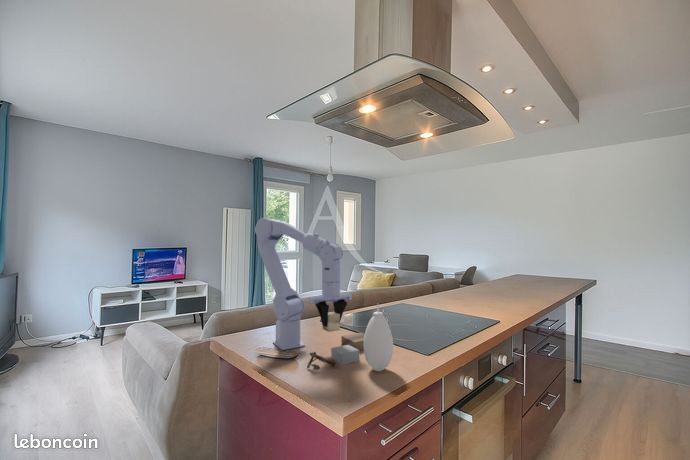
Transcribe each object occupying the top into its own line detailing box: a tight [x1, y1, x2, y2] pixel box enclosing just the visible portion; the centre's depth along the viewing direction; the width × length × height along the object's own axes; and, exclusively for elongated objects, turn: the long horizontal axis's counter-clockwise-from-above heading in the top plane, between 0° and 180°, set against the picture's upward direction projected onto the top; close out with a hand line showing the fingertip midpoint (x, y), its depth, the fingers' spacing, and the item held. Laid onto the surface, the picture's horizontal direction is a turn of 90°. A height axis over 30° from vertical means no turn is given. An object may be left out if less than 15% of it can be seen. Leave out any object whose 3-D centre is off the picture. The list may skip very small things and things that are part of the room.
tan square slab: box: [340, 332, 365, 352], centre depth 104 cm, size 8×8×3 cm
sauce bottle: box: [363, 303, 394, 372], centre depth 85 cm, size 8×8×18 cm
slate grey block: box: [330, 345, 360, 366], centre depth 92 cm, size 6×6×3 cm
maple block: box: [322, 311, 341, 333], centre depth 99 cm, size 4×4×5 cm
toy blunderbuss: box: [306, 351, 338, 370], centre depth 86 cm, size 2×8×4 cm, turn 98°
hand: (331, 324), depth 99 cm, fingers closed on maple block, 4 cm apart
